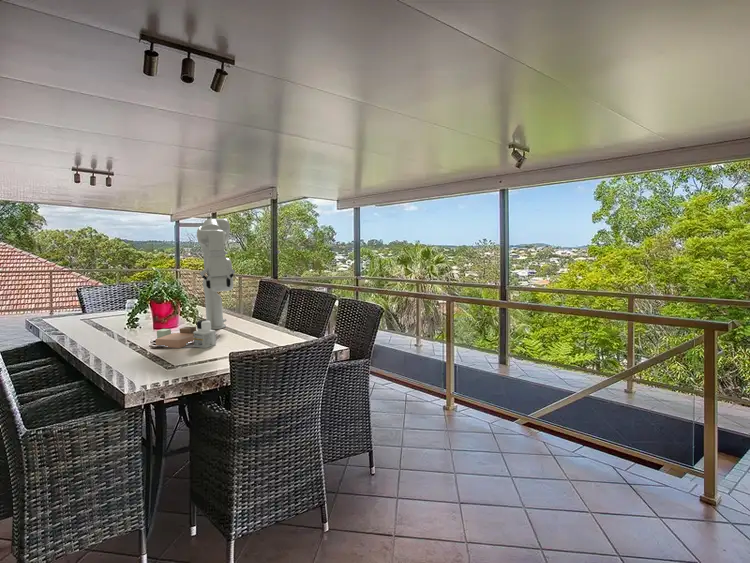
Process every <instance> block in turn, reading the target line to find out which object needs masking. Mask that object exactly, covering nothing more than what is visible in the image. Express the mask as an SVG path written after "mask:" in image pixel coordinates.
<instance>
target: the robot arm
mask: <svg viewBox="0 0 750 563" xmlns="http://www.w3.org/2000/svg"><path fill="white" fill-rule="evenodd" d="M230 231H231V224H230V222H229V221H228V219H227V218H208V219H206V220H204V221H203V223H202V225H201V226H199V227H198V228H197V231H196V238H197V242H198V243H199V245H200V247H201V249H202V254H203V256H202V257H203V267H204V269H203V270H202V271H200V272H199V274H200V276H201V277H202V278H203V279H202V289H203V293H204V300H205V301H204V302H205V303H204V304H205V320H209V321H210V322H211V329H210V330H219V329H224V328H226V326H227V324H226V322H228V321H227V318H224V316H223V314H224V313H223V298H222V296H221V295H220V294H219V293H218V292H229V291H232V290H233V288H234V275H235V273H236V270H234V268H233V264H232V260H231V259H230V258H228V257H227V256H226V255H228V251H226V250H225V243H227V242H228V241H229V238H230ZM205 274H206V275H207V276H206V275H205Z"/></svg>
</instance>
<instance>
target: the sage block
mask: <svg viewBox="0 0 750 563" xmlns="http://www.w3.org/2000/svg"><path fill="white" fill-rule="evenodd" d="M169 334H172V329H171V328H161V329H158V330H156V339H157V338H160V337H163V336H166V335H169Z"/></svg>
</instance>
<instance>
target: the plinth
mask: <svg viewBox="0 0 750 563" xmlns="http://www.w3.org/2000/svg"><path fill="white" fill-rule="evenodd" d="M190 341H193V334H187V333H180V332H173V333H172V332H171V334H169V335H166V336H163V337H160V338H157V337H156V338H155V346H156V345H165V346H168V347H167V348H174V349H181V348H183V347H186V346H187V345H186V343H188V342H190ZM185 345H186V346H185Z"/></svg>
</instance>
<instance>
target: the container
mask: <svg viewBox="0 0 750 563" xmlns="http://www.w3.org/2000/svg"><path fill="white" fill-rule="evenodd" d="M193 340H194V343H193V347H194V348H199V349H200V348H201V349H206V348H210V347H214V346H216V345H217V336H216V329H211V322H210V321H209V320H206V319H204V320H198V321H197V322H196V331H195V332H193Z"/></svg>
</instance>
